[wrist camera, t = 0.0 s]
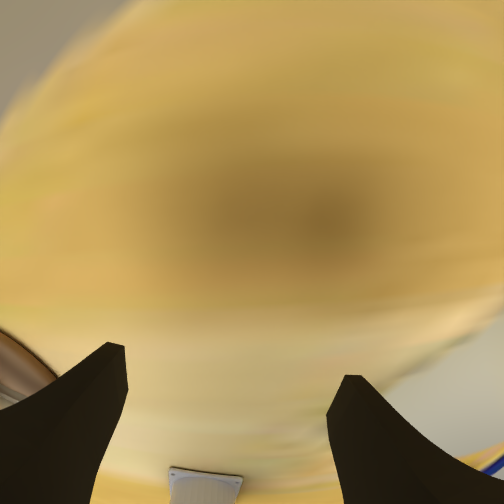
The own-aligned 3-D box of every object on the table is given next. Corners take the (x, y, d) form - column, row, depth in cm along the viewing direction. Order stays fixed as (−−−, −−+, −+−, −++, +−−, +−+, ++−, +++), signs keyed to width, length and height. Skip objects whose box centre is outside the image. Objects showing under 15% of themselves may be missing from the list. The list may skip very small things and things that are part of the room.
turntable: (107, 473, 27) (98, 500, 23) (-12, 421, 26) (-25, 440, 22) (73, 358, 21) (50, 394, 17) (-61, 301, 19) (-85, 320, 15)
